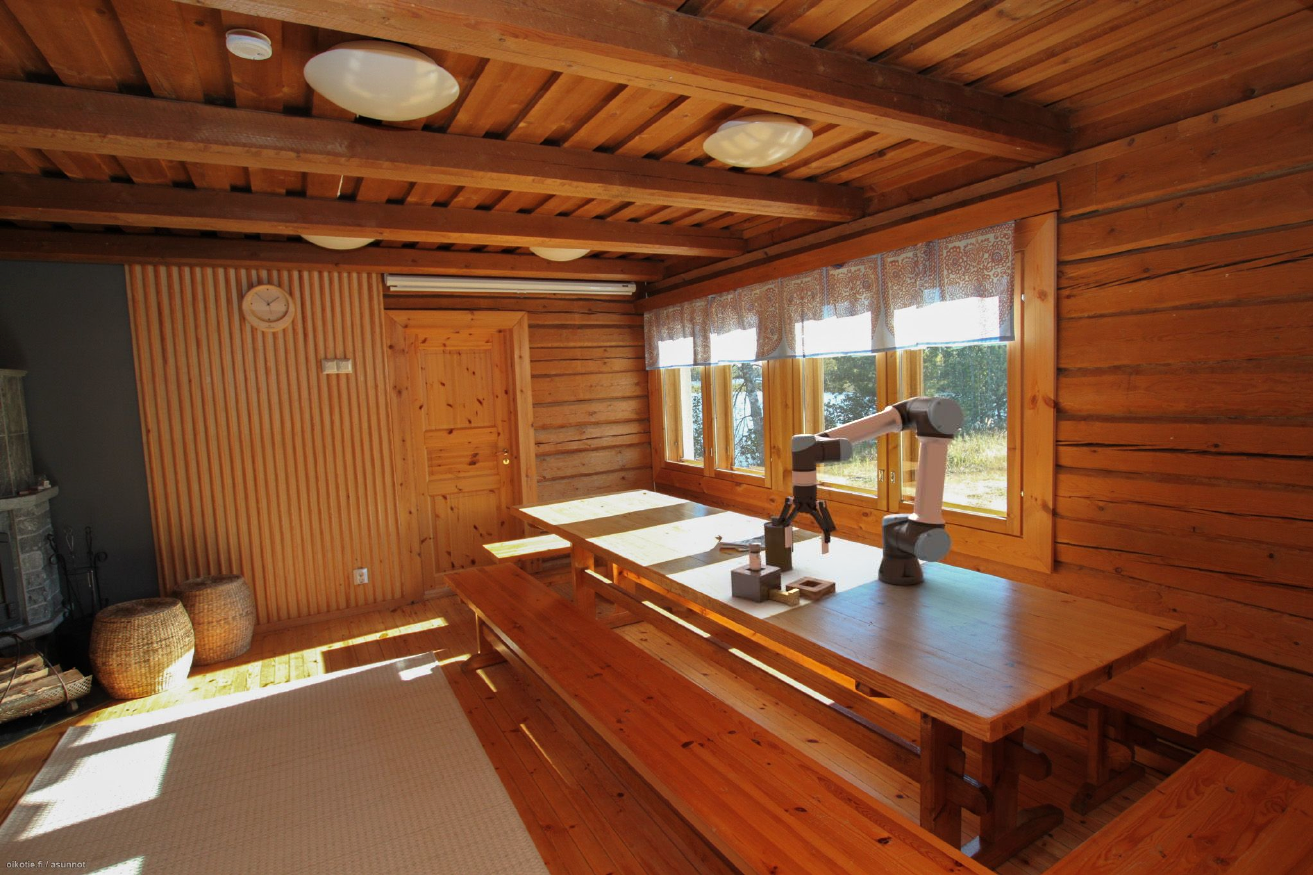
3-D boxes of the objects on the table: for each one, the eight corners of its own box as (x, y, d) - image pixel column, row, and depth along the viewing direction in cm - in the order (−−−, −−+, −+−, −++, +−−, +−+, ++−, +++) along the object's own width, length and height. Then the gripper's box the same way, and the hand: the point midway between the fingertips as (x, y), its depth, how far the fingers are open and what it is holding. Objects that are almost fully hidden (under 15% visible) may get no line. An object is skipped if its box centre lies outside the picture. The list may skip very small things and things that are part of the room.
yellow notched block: (799, 602, 222) (799, 589, 222) (792, 606, 219) (792, 592, 219) (769, 595, 231) (769, 582, 230) (762, 598, 228) (762, 585, 228)
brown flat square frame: (835, 591, 232) (835, 582, 232) (816, 600, 224) (815, 591, 223) (805, 584, 240) (805, 576, 240) (785, 593, 232) (785, 585, 232)
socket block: (781, 593, 232) (780, 568, 231) (760, 603, 224) (759, 576, 223) (753, 587, 241) (752, 562, 240) (731, 596, 232) (730, 570, 232)
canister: (761, 570, 260) (759, 519, 258) (770, 563, 269) (768, 513, 267) (789, 573, 254) (787, 520, 253) (797, 565, 264) (795, 515, 262)
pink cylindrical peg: (764, 583, 232) (762, 542, 231) (757, 586, 229) (755, 545, 228) (755, 581, 235) (753, 541, 233) (747, 583, 232) (746, 543, 231)
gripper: (846, 485, 207) (848, 553, 209) (779, 478, 225) (781, 541, 227) (832, 489, 202) (834, 558, 204) (765, 482, 220) (767, 546, 222)
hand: (806, 549), depth 216 cm, fingers open, 13 cm apart
